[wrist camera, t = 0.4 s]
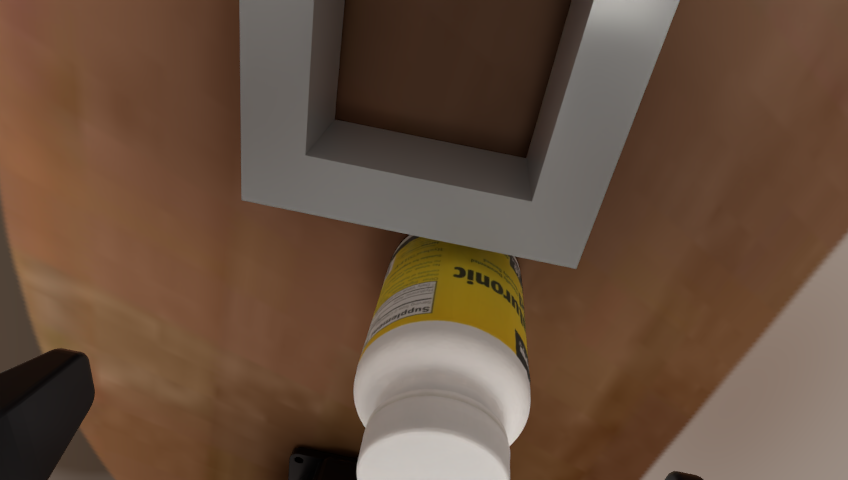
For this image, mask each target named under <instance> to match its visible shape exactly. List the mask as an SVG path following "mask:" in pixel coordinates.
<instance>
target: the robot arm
mask: <svg viewBox="0 0 848 480" xmlns="http://www.w3.org/2000/svg"><path fill="white" fill-rule="evenodd" d="M94 394H95V389H94V384H93V379H92V373H91V368H90V363H89V359H88V357H87V356H86V355H85V354H84V353H82V352H78V351H73V350H68V349H62V348H60V349H54V350H51V351H49V352H46V353H44V354H42V355H40V356H38V357H35V358H33V359H31V360H29V361H26V362H24V363H22V364H20V365H17V366H15V367H13V368H11V369H8V370H6V371H4V372H2V373H0V480H48V478H49V477H50V475H51V473H52V472H53V470H54V468H55V467H56V465H57V463H58V462H59V460H60V458H61V456H62V455H63V453H64V451H65V450H66V448H67V446H68V445H69V443H70V441H71V440H72V438H73V436H74V434H75V433H76V431H77V429H78V428H79V426H80V424H81V423H82V421H83V419H84V418H85V416H86V414H87V413H88V411H89V409H90V407H91V405H92V403H93V400H94ZM357 461H358V460H357V459H352V458H348V457H343V456H338V455H333V454H329V453H324V452H319V451H314V450H310V449H305V448H295V449H293V451H292V454H291V456H290V461H289V478H288V480H357V473H356V469H357ZM665 480H703V479H702V478H701V477H699V476H697V475H692V474H687V473H683V472H677V471H673V472H671V473H669V474H668V476H667V477H666V479H665Z"/></svg>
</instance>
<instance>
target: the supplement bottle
mask: <svg viewBox="0 0 848 480" xmlns="http://www.w3.org/2000/svg"><path fill="white" fill-rule="evenodd" d="M530 401H531V399H530V375H529V366H528V353H527V340H526V328H525V315H524V303H523V287H522V279H521V273H520V269H519V265H518V262H517V260H516V258H515V256H511V255H506V254H502V253H497V252H492V251H487V250H482V249H477V248H472V247H467V246H463V245H458V244H453V243H448V242H443V241H438V240H433V239H428V238H424V237H419V236H414V235H409V236H408V237H407V238H405V239H404V240H403V241H402V243H401V244H400V245H399V246H398V248H397V249H396V251H395V253H394V255H393V257H392V259H391V261H390V264H389V267H388V270H387V273H386V276H385V280H384V283H383V286H382V290H381V293H380V296H379V300H378V303H377V306H376V309H375V312H374V316H373V319H372V322H371V325H370V328H369V332H368V335H367V338H366V341H365V344H364V347H363V350H362V354H361V357H360V360H359V363H358V366H357V372H356V376H355V381H354V402H355V406H356V410H357V413H358V416H359V418H360V420H361V422H362V423H363V425H364V427H365V428H366V429H365V432H364V435H363V439H362V444H361V449H360V453H359V457H358V461H357V469H356V473H357V480H510V448H509V446H510V445H511V444H512V443H513V442H514V441H515V440H516V439H517V438H518V436H519V435H520V433H521V432H522V430H523V428H524V426H525V424H526V422H527V419H528V416H529V411H530Z"/></svg>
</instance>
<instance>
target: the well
mask: <svg viewBox="0 0 848 480" xmlns="http://www.w3.org/2000/svg"><path fill="white" fill-rule="evenodd" d="M679 1H680V0H572V1H571V4H570V8H569V11H568V15H567V18H566V22H565V25H564V29H563V32H562V36H561V39H560V43H559V46H558V50H557V53H556V57H555V60H554V63H553V67H552V70H551V74H550V77H549V81H548V84H547V88H546V91H545V95H544V98H543V102H542V105H541V109H540V112H539V116H538V119H537V123H536V126H535V129H534V133H533V136H532V140H531V143H530V147H529V150H528V154H527V157H526V158H523V157H518V156H513V155H508V154H503V153H498V152H493V151H488V150H483V149H478V148H473V147H468V146H463V145H458V144H454V143H449V142H444V141H439V140H434V139H429V138H424V137H419V136H414V135H409V134H404V133H399V132H394V131H389V130H385V129H380V128H375V127H370V126H365V125H360V124H355V123H350V122H345V121H340V120H335V111H336V99H337V87H338V75H339V63H340V52H341V40H342V28H343V16H344V4H345V0H239V8H240V101H241V194H242V200H243V201H248V202H253V203H258V204H263V205H268V206H272V207H277V208H282V209H287V210H292V211H297V212H302V213H307V214H311V215H316V216H321V217H326V218H331V219H336V220H341V221H346V222H350V223H355V224H360V225H365V226H370V227H375V228H380V229H385V230H389V231H394V232H399V233H404V234H409V235H414V236H419V237H424V238H428V239H433V240H438V241H443V242H448V243H453V244H458V245H463V246H467V247H472V248H477V249H482V250H487V251H492V252H497V253H502V254H506V255H511V256H516V257H521V258H526V259H531V260H536V261H540V262H545V263H550V264H555V265H560V266H565V267H570V268H575V269H576V268H577V266H578V263H579V261H580V258H581V255H582V253H583V250H584V248H585V245H586V242H587V240H588V237H589V235H590V232H591V229H592V227H593V224H594V222H595V219H596V216H597V214H598V211H599V209H600V206H601V203H602V201H603V198H604V196H605V193H606V190H607V188H608V185H609V183H610V180H611V177H612V175H613V172H614V170H615V167H616V164H617V162H618V159H619V157H620V154H621V151H622V149H623V146H624V144H625V141H626V138H627V136H628V133H629V131H630V128H631V125H632V123H633V120H634V118H635V115H636V112H637V110H638V107H639V105H640V102H641V99H642V97H643V94H644V92H645V89H646V86H647V84H648V81H649V79H650V76H651V73H652V71H653V68H654V66H655V63H656V60H657V58H658V55H659V53H660V50H661V47H662V45H663V42H664V40H665V37H666V34H667V32H668V29H669V27H670V24H671V21H672V19H673V16H674V14H675V11H676V8H677V6H678V3H679Z"/></svg>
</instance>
